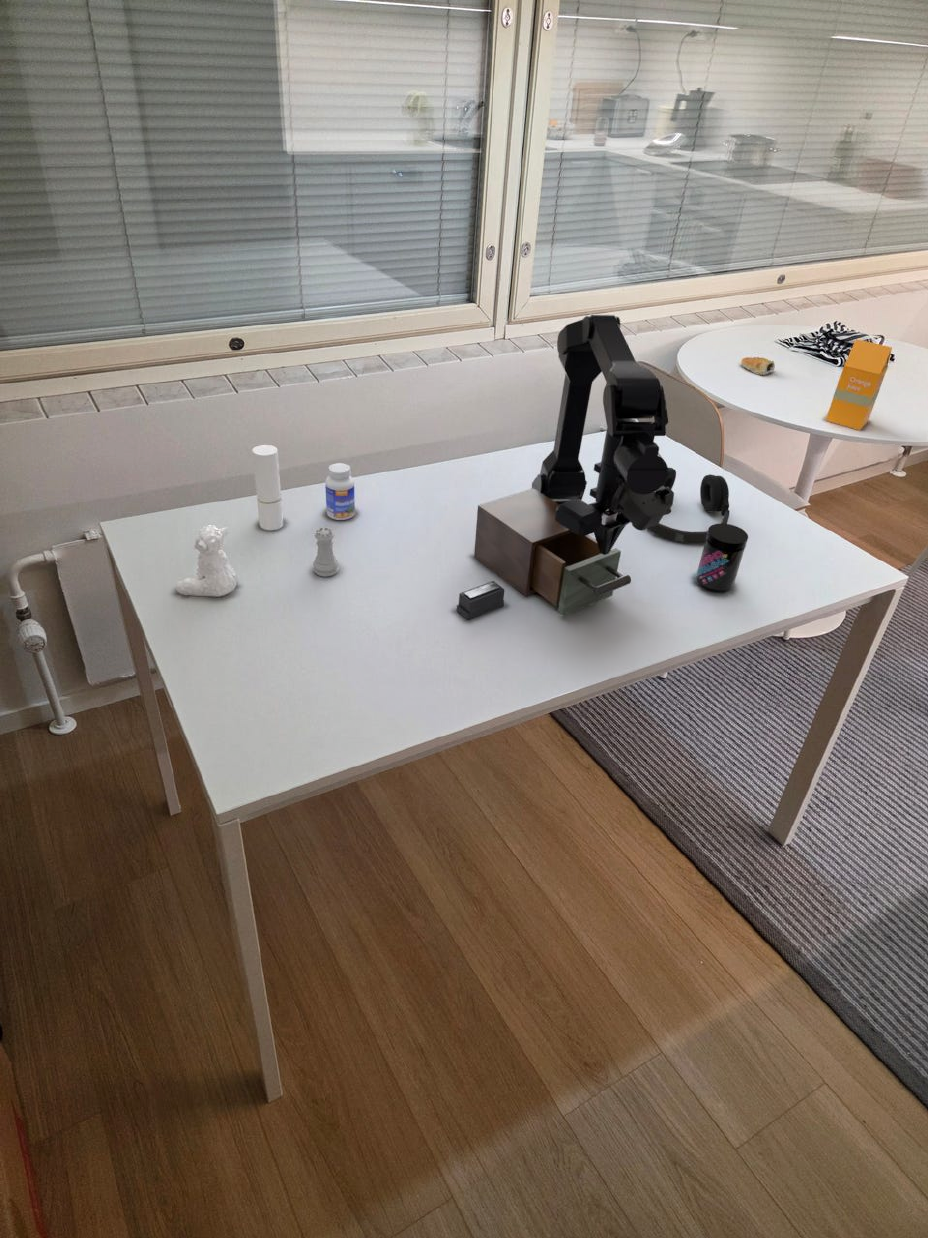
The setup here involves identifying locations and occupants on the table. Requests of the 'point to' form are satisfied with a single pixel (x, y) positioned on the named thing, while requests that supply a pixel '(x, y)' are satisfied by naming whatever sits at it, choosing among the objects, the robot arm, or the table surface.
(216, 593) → the white creature statuette
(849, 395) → the orange juice
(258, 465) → the tube
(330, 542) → the rook chess piece
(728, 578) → the supplement container
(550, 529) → the cabinet
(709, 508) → the headphones
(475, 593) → the dark box
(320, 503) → the table surface
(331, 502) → the pill bottle
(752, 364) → the pastry
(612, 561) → the drawer
